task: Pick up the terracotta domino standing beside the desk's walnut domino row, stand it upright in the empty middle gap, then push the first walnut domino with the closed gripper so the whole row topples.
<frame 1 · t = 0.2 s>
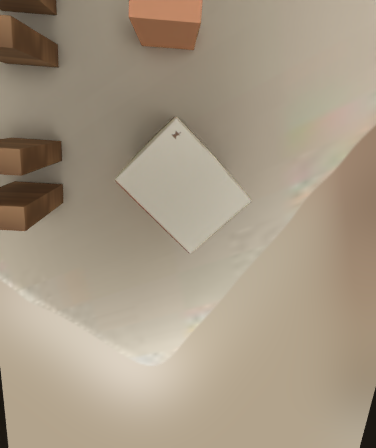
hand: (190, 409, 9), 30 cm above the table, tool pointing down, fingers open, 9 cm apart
domino 4: (36, 149, 36), on the table
domino 5: (39, 192, 38), on the table
domino 2: (31, 54, 34), on the table
small box: (180, 165, 37), on the table
domino 1: (28, 0, 32), on the table
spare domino: (168, 36, 34), on the table
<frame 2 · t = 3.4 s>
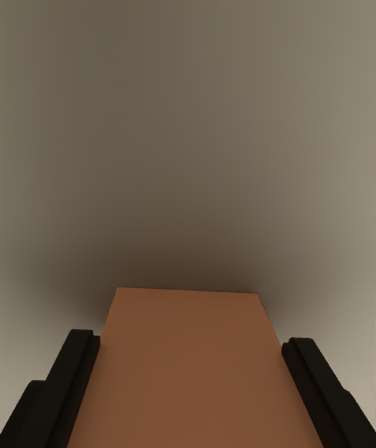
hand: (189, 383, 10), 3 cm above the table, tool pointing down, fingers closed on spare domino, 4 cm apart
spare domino: (185, 314, 13), on the table, touching gripper
when the fingers open (4 cm above the table, at t = 8.9 s): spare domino stays where it is, on the table.
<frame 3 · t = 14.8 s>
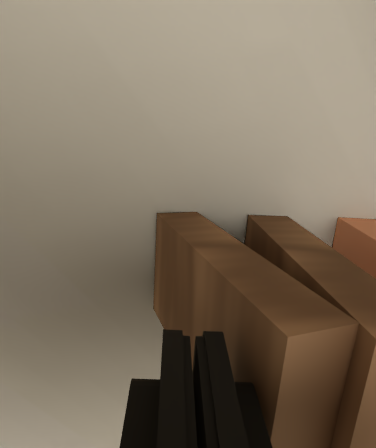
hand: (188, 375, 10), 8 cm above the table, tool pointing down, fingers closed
domino 2: (261, 263, 18), on the table, touching domino 1
domino 1: (174, 261, 17), on the table, tilted 19°, touching domino 2
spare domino: (347, 264, 18), on the table
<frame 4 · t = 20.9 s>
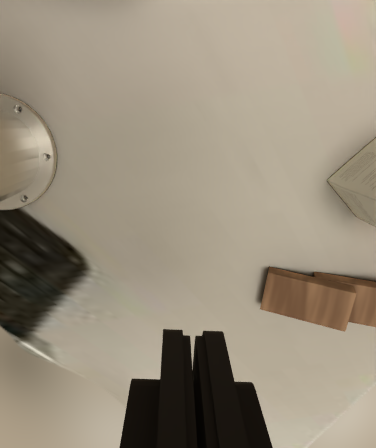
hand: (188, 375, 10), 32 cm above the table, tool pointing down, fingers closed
domino 2: (311, 292, 44), point 1 cm above the table, tilted 75°, touching domino 1
small box: (367, 175, 41), on the table
domino 1: (264, 287, 44), point 1 cm above the table, tilted 71°, touching domino 2
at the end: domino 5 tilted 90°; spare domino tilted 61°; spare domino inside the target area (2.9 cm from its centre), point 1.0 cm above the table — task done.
